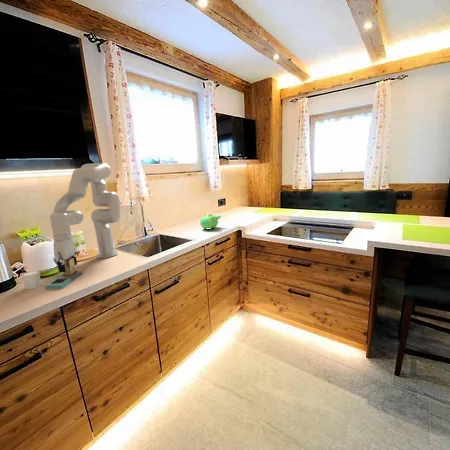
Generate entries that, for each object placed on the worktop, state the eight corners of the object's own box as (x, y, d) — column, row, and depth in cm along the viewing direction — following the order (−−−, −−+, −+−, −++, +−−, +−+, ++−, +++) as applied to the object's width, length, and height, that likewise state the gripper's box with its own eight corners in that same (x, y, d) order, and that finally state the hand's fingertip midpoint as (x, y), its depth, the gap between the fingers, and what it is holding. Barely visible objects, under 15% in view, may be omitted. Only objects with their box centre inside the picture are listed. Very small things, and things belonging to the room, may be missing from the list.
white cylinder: (22, 288, 114) (18, 274, 112) (38, 282, 119) (35, 269, 118) (27, 291, 110) (24, 277, 109) (44, 285, 116) (41, 272, 114)
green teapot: (207, 226, 232) (206, 212, 229) (222, 227, 225) (221, 212, 222) (197, 230, 216) (196, 215, 213) (213, 232, 209) (212, 215, 206)
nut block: (69, 275, 126) (65, 258, 124) (76, 275, 126) (73, 258, 124) (64, 279, 122) (60, 261, 120) (72, 278, 122) (68, 260, 120)
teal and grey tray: (67, 274, 128) (67, 271, 127) (82, 273, 128) (81, 270, 128) (45, 289, 111) (44, 285, 111) (62, 288, 112) (61, 284, 111)
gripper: (65, 233, 128) (71, 262, 131) (42, 241, 111) (49, 275, 114) (79, 232, 128) (84, 262, 131) (59, 241, 111) (65, 274, 114)
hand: (68, 268), depth 123 cm, fingers open, 9 cm apart
